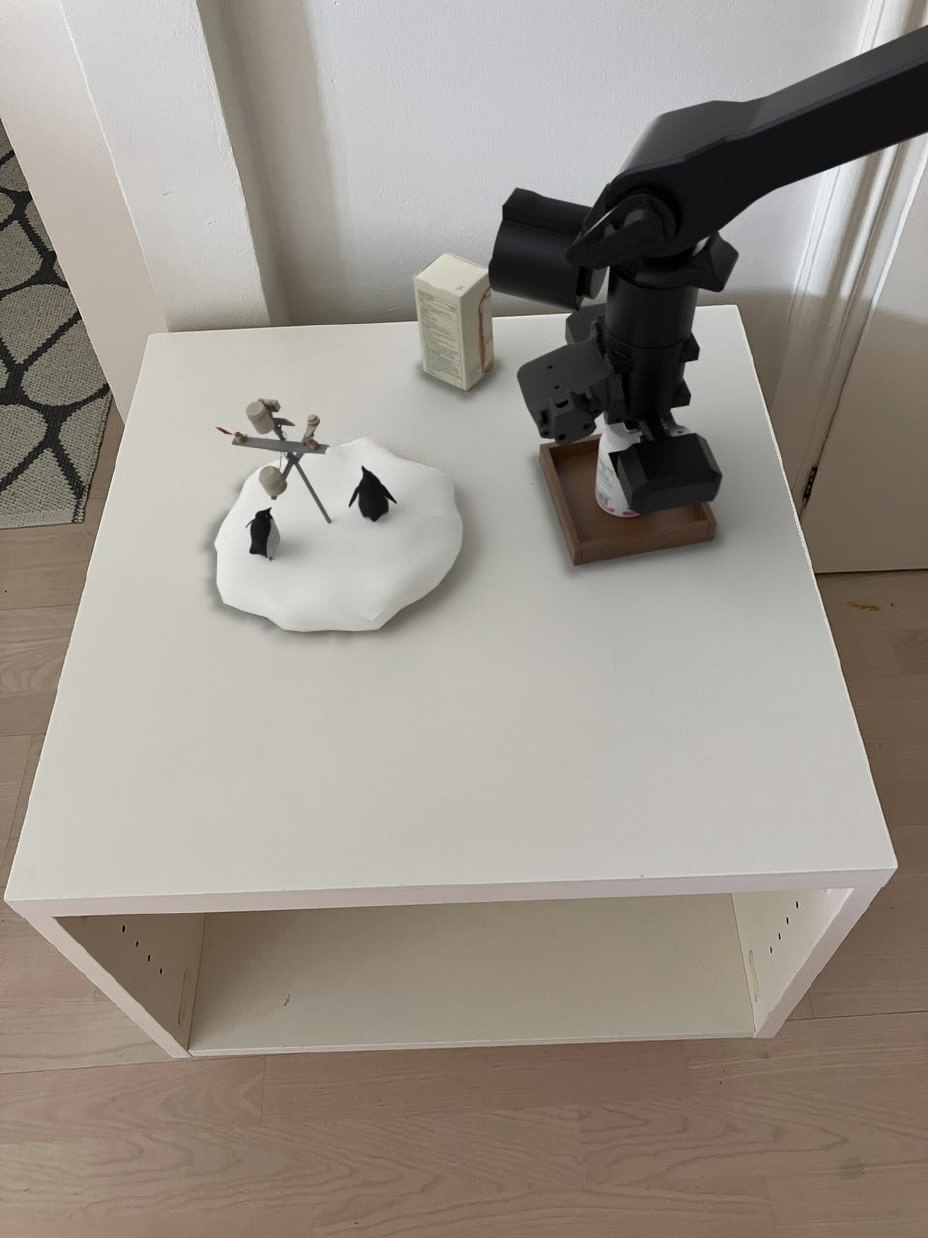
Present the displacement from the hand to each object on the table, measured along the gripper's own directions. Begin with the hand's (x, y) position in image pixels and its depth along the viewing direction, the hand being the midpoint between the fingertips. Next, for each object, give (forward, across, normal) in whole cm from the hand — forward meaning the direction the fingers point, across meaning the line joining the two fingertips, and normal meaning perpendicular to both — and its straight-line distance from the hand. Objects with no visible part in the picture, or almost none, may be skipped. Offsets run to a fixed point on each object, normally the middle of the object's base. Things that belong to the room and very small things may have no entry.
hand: (627, 478), depth 80 cm
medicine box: (+2, -18, -10) cm, 21 cm away
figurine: (+3, -1, -23) cm, 23 cm away
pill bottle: (+2, 0, 0) cm, 2 cm away
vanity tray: (+2, 0, 0) cm, 2 cm away
